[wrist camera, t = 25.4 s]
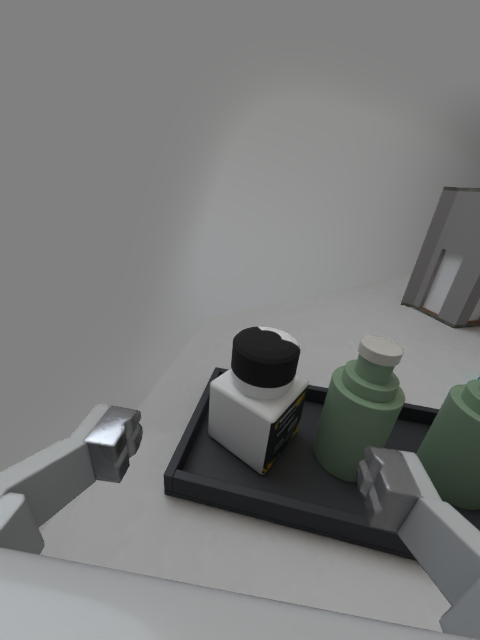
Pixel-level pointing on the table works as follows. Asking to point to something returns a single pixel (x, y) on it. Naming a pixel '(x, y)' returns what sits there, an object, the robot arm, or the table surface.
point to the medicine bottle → (258, 397)
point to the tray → (291, 477)
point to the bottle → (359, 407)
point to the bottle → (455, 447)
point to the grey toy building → (450, 262)
